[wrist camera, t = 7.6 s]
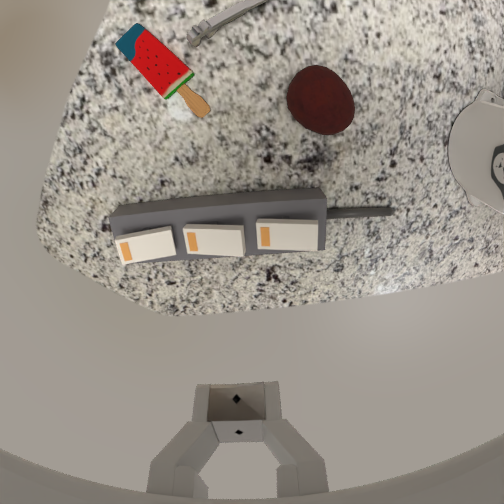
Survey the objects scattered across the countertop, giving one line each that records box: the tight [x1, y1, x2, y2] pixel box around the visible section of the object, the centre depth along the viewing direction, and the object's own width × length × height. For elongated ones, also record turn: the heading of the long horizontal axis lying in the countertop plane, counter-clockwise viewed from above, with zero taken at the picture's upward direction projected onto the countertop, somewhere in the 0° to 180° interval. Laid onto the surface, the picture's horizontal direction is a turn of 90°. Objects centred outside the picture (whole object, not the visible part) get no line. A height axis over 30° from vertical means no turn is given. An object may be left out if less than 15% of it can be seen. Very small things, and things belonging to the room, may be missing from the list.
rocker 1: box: [115, 226, 176, 265], centre depth 36 cm, size 7×3×1 cm, turn 94°
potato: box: [287, 65, 355, 135], centre depth 31 cm, size 7×8×6 cm
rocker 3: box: [256, 219, 318, 251], centre depth 36 cm, size 7×3×1 cm, turn 94°
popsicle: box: [116, 23, 210, 118], centre depth 31 cm, size 4×2×15 cm
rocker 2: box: [183, 224, 246, 257], centre depth 36 cm, size 7×3×1 cm, turn 94°
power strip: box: [108, 188, 393, 264], centre depth 39 cm, size 38×7×5 cm, turn 94°
